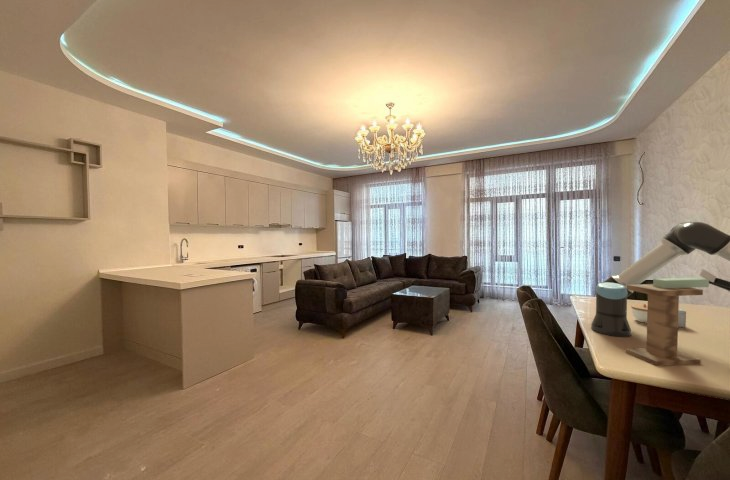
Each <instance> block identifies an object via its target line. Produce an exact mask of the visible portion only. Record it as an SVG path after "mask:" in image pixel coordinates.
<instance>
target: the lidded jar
mask: <svg viewBox="0 0 730 480" xmlns="http://www.w3.org/2000/svg"><path fill="white" fill-rule="evenodd" d="M647 311H648V305H647V304H646V303H644V304H632V305H631V314H632V316H633V318H634V319H635V320H636V321H637V322H639V323H640V322H641V323H644V322H645V324H647Z"/></svg>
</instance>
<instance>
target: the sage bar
mask: <svg viewBox="0 0 730 480" xmlns="http://www.w3.org/2000/svg"><path fill="white" fill-rule="evenodd" d="M652 280H653V282H652V284H653V286H654V287H660V288H709V286H710V284H709V279H705V278H703V277H702V278H701V277H700V278H699V277H673V278H670V277H669V278H668V277H667V278H666V277H665V278H653V279H652Z"/></svg>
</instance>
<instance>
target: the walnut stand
mask: <svg viewBox="0 0 730 480" xmlns="http://www.w3.org/2000/svg"><path fill="white" fill-rule="evenodd" d="M627 290H631V291H633V292H637V293H640V294H641V293H642V294H646V295H647V306H648V311H647V323H646V347H635V348H634V347H632V348H625V353H627V354H629V355H631V356H634V357H636V358H637V359H640V360H643V361H645V362H647V363H650V364H653V366H654V365H655V366H656V367H658V366H674V365H675V366H677V365H678V366H679V365H697V364H699V363H701V361H702V360H701V359H700V358H698V357H695V356H692V355H689V354H687V353H684V352H680V351H678V340H679V339H678V337H679V334H678V333H679V327H678V309H680V308H679V306H680V304H679V303H680V296H703V295H704V290H703V289H702V288H701V289H700V288H697V287H694V288H660V287H654V286H653V283H646V284H645V283H643V284H642V283H640V284H639V285H627Z"/></svg>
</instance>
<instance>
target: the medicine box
mask: <svg viewBox="0 0 730 480" xmlns="http://www.w3.org/2000/svg"><path fill="white" fill-rule="evenodd" d="M686 323H687V311H686V310H684V309H683V308H679V309H678V328H686V327H687V326H686V325H687V324H686Z"/></svg>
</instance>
